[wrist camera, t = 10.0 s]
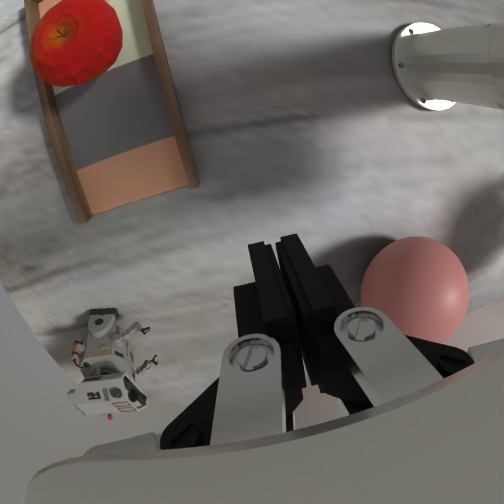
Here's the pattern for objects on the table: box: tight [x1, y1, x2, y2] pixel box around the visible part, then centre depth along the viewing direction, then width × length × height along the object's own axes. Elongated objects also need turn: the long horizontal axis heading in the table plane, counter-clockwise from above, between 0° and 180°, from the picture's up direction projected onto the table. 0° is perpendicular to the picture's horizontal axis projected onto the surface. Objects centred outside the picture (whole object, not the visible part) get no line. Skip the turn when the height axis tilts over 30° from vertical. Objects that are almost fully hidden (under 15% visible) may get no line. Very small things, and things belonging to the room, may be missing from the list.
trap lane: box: [24, 0, 200, 224], centre depth 27 cm, size 15×31×2 cm, turn 12°
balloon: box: [360, 237, 469, 344], centre depth 38 cm, size 15×20×15 cm
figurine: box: [67, 308, 158, 420], centre depth 37 cm, size 9×12×15 cm
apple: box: [29, 0, 123, 87], centre depth 21 cm, size 9×9×12 cm
